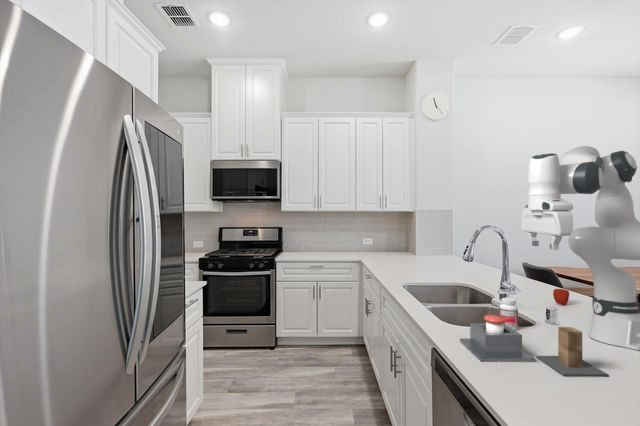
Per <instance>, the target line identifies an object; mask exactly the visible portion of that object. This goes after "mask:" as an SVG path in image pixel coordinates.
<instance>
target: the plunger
mask: <svg viewBox="0 0 640 426" xmlns="http://www.w3.org/2000/svg"><path fill="white" fill-rule="evenodd" d="M483 319H484V321H485V323H486V331H487V332H489V333H504V323H505V318H504V317H502V316H500V315H499V314H498V315H497V314H486V315H484V316H483Z"/></svg>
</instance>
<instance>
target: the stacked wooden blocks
mask: <svg viewBox="0 0 640 426" xmlns="http://www.w3.org/2000/svg"><path fill="white" fill-rule="evenodd" d="M557 329H558V331H557V334H558V336H557V337H558V338H557V340H558V342H557V344H558V347H557V351H558V353H557V356H558V361H559V362H560V363H562V364H563V365H565V366H567V367H568V368H582V360H583V331H581V330H580V329H577V328H576V327H575V328H574V327H572V326H558V328H557Z"/></svg>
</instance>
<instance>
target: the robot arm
mask: <svg viewBox="0 0 640 426" xmlns="http://www.w3.org/2000/svg"><path fill="white" fill-rule="evenodd" d="M635 159H636V158H634V157H633V155H632V154H630V153H629V152H627V151H625V150H618V151H615V152H611V153H610V154H607V155H605V156H602V157H601V154H600V152H599V150H598V149H596V148H595V147H593V146H589V145H583V146H578V147H577V146H576V147H574V148H572V149H570V150H567V151H566V152H565V153H563V155H561V157H560V159H559V155H558V154H556V153H553V152H552V153H550V152H549V153H543V154H536V155H533V156H531V157H530V158H529V162H528V168H527V185H528V193H527V204H526V205H525V207H523V211H522V212H521V215H520V216H521V217H520V229H521V231H522V232H526V233H527V234H528V237H529V240H530V245H531V246H532V247H540V246H539V245H540V242H539V240H538V238H537V236H538V234H542V235H548V236H549V235H550V236H551V239H552V241H551V243H550V244H549V249H550V250H553V251H558V250H559V249H560V248H559V247H560V246H559V245H560V242H561V241H562V240H563V237H568V242H567V243H568V247H569V249H570V250H571V252H572V253H573V254H575V255H576V256H577V257H579V258H581V259H582V260H583V261H584V262H585V264H587V266H588V268H589V269H590V272H591V275H592V279H593V296H592V306H591V307H592V310H593V312H592V319H591V324H590V328H589V332H588V335H587V336H588V337H590V338H591V339H594V340H596V341H598V342H601V343H603V344H608V345H612V346H617V347H622V348H628V349H631V350H635V351H636V350H637V351H640V302H639V301H637V281H636V278H635V277H634V276H633V274H631V273H630V272H628V271H626V270H624V269H622V268H620V267H617V266H615V265H614V264H613V263H612V260H628V261H629V260H630V261H640V221H639V220H638V219H637V218H636V216H635V215H636V214H635V212H634V211H635V210H634V201H633V197H632V195H631V192H630V190H629V189H628V187H627V186H626V183H631V182H632V181H633V177H634V176H635V174H636V172H637V169H638V166H637V162H636V161H637V160H635ZM596 192H598V193H597V195H596V198H595V203H594V221H595V223H596V224H597V225H598V226H586V227H578V228H575V229H574V230H573V228H574V221H573V219H574V218H573V217H574V216H573V213H572V212H571V211H573V209H574V204H573V203H572V202H570V201H568V200H565V199H563V198H561V197H562V196H561V195H572V194H573V195H577V194H581V195H592V194H593V195H594V194H595V193H596Z"/></svg>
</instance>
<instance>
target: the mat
mask: <svg viewBox="0 0 640 426" xmlns="http://www.w3.org/2000/svg"><path fill="white" fill-rule="evenodd" d="M535 359H537V360H538V361H540V362H542V363H543V364H545V365H546V366H548V367H549V368H551V369H552V370H553V371H555V372H556V373H558V375H561V377H583V376H584V378H585V376H586V377H587V376H588V378H589V376H590V377H595V378H596V377H598V376H599V377H600V376H601V377H602V378H603V377H604V378H605V377H607V378H608V377H609V375H610V374H609V373H607V372H605V371H604V370H601V368H598V367H597V366H595V365H593V364H591V363H589V362H587V361H586V360H584V359H582V368H568V367H567V366H565V365H563V364H562V363H560V362H559V361H558V355H535Z"/></svg>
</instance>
